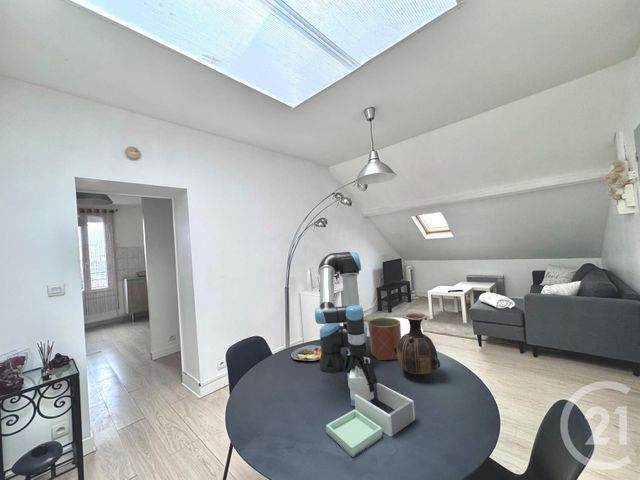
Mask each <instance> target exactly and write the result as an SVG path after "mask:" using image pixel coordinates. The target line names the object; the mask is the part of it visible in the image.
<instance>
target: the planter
mask: <svg viewBox="0 0 640 480" xmlns="http://www.w3.org/2000/svg"><path fill="white" fill-rule="evenodd" d="M367 324H368V325H367V327H368V336H369V344H370V352H371V356H373V357H374V358H376V360H378V361H387V360H388V361H391V360H398V359H397V355H396V353H395V351H394V349H395V347H396V346H398V343H399V341H400V339H401V338H402V331H401V321H400V320H399V319H396V318H391V317H377V318H372V319H370V320H368V322H367ZM396 350H397V348H396Z"/></svg>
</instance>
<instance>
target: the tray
mask: <svg viewBox="0 0 640 480" xmlns="http://www.w3.org/2000/svg"><path fill="white" fill-rule="evenodd" d="M325 430H326V431H325V432H326V435H328V437H329V438H331V439H332V440H333V441H334V442H335V443H336V444H337V443H338V444H339V445H340V446H339V447H341V448H342V449H343V450H344V451H345V452H346V453H347V455H349V456H350V455H351V456H352V457H353V458H354V457H356V456H357V455H358V453H359V452H360V453H362V452H363V451H365V450H366V449H367V448H369V447H370V446H372V445H373V444H375V442H377V441H379V440H380V439H381V438H383V436H384V435H383V431H382V428H381V427H380V426H378V425H377V424H375V423H374V422H373V421H371V420H370V419H368V418H367V417H365V416H364V415H362V414H361V413H360V412H358V411H357V410H355V409H352V410H351V411H348V412H347V413H345V414H344V415H342V416H340V417H338V418H337V419H335V420H333V421H331V422H329V423H327V424H325ZM338 444H337V445H338ZM365 448H366V449H365ZM362 450H363V451H362ZM360 453H359V454H360ZM356 454H357V455H356ZM355 455H356V456H355ZM351 456H350V457H351ZM352 457H351V458H352Z"/></svg>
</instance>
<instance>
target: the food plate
mask: <svg viewBox="0 0 640 480" xmlns="http://www.w3.org/2000/svg"><path fill="white" fill-rule="evenodd" d="M303 351H304V352H303ZM300 352H301V354H299V353H300ZM304 354H305V355H304ZM290 355H291V357H292V359H293V360H298V361H306V362H307V361H308V362H309V361H310V362H311V361H313V362H315V361H320V357H321V344H319V345H318V344H310V345H304V346H301V347H299V348H296V349H294V350H293V352H291V354H290Z"/></svg>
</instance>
